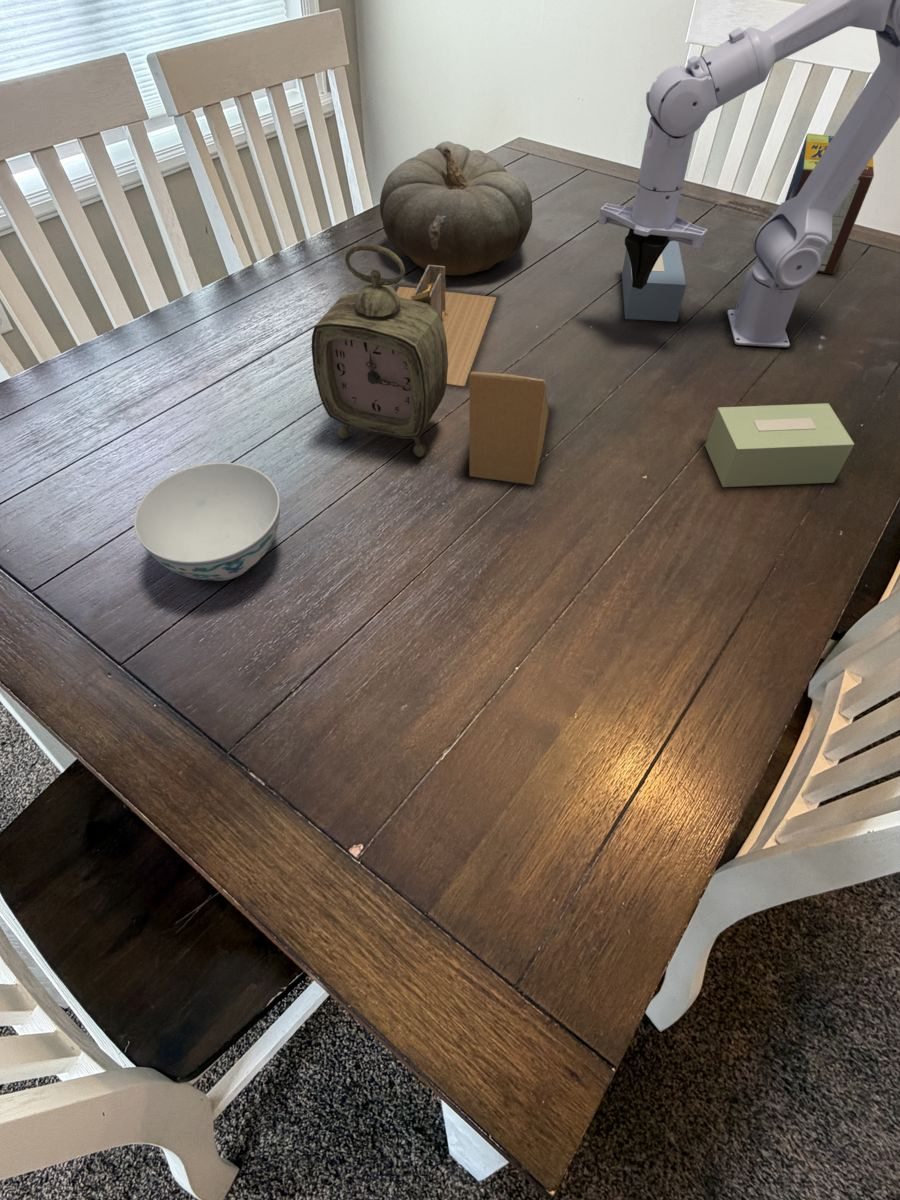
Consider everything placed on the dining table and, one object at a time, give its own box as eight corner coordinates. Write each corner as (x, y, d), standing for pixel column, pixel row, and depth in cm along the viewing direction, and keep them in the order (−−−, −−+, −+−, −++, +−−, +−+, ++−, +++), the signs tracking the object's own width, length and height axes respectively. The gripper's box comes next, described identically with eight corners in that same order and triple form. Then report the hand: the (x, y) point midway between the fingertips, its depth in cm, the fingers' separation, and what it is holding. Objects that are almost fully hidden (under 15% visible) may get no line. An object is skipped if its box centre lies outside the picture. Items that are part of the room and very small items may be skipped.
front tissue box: (704, 445, 95) (717, 406, 90) (810, 441, 95) (829, 401, 90) (722, 487, 90) (737, 447, 85) (834, 482, 90) (855, 443, 85)
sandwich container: (551, 411, 100) (563, 307, 88) (535, 485, 90) (547, 381, 78) (489, 403, 101) (493, 300, 89) (467, 476, 91) (469, 371, 80)
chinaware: (228, 631, 76) (209, 583, 70) (128, 574, 81) (102, 525, 75) (318, 543, 84) (308, 493, 78) (222, 496, 89) (205, 445, 83)
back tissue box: (621, 274, 123) (628, 237, 118) (669, 277, 122) (678, 240, 118) (624, 319, 114) (632, 280, 109) (676, 321, 114) (686, 283, 109)
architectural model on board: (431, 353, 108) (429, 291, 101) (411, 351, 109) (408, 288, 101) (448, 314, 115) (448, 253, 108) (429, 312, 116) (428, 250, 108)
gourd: (441, 193, 137) (447, 93, 122) (551, 251, 131) (572, 154, 116) (355, 258, 127) (349, 157, 112) (470, 324, 121) (481, 228, 106)
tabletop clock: (325, 442, 95) (293, 251, 76) (354, 403, 101) (331, 215, 81) (428, 467, 92) (422, 274, 73) (453, 425, 98) (453, 235, 78)
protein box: (835, 235, 132) (873, 139, 120) (833, 275, 123) (875, 175, 110) (774, 227, 134) (806, 131, 122) (769, 266, 125) (802, 167, 113)
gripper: (595, 181, 94) (580, 283, 105) (703, 207, 89) (676, 312, 100) (618, 162, 98) (602, 263, 108) (723, 187, 93) (695, 290, 103)
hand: (639, 285), depth 104 cm, fingers closed
